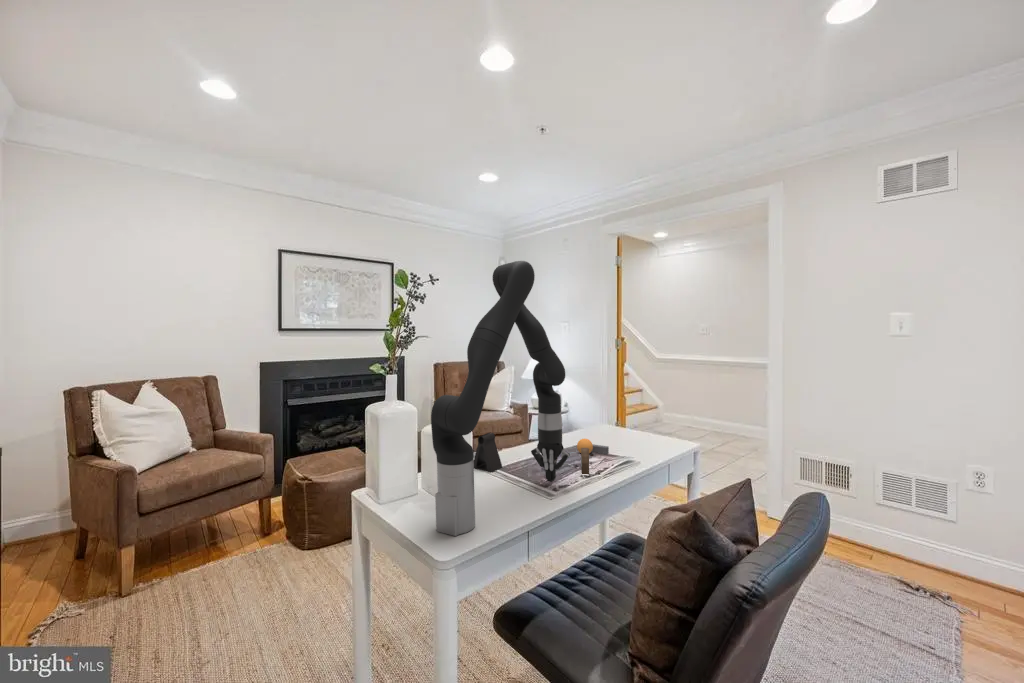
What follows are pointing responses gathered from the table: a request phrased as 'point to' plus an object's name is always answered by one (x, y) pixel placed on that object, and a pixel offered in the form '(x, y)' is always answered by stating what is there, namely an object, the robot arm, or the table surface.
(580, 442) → the ball
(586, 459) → the right post
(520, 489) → the table surface
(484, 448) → the phone stand
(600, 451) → the wall
